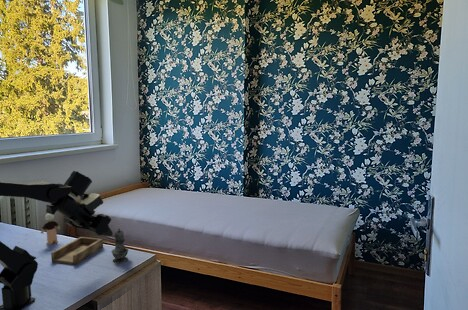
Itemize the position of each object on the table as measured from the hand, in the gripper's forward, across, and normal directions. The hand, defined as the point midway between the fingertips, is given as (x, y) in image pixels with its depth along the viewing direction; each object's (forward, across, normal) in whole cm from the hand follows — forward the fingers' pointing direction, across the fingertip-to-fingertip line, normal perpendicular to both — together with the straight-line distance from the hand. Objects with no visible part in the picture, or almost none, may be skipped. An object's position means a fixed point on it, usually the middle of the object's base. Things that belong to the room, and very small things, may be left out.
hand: (103, 232), depth 120 cm
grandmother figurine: (+10, +36, +8) cm, 38 cm away
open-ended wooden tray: (+9, +17, +8) cm, 21 cm away
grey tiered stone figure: (+14, 0, +4) cm, 14 cm away
